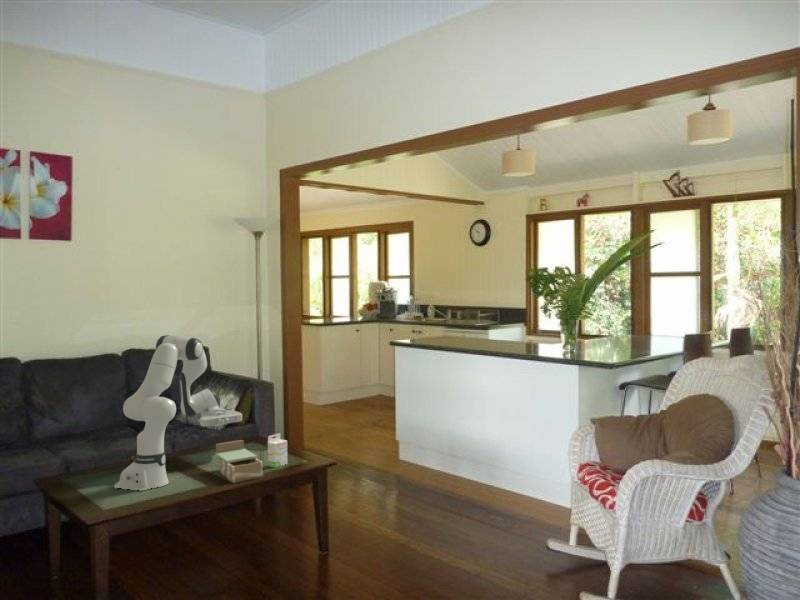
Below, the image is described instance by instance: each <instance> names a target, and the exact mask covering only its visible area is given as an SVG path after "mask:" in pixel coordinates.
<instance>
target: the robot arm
mask: <svg viewBox="0 0 800 600" xmlns="http://www.w3.org/2000/svg"><path fill="white" fill-rule="evenodd" d="M178 360H180V361H182V365H183V367H182V370H181V372H180V373H179V377H178V383H179V394H180V405H179V407H180V411H181V413H182V415H184V417H187V418H194V417H196V416H197V415H198V414H200V415H201V416H200V418H199V419H197V422H198V423H200V427H203V428H204V427H211V426H213V427H216V428H217V427H221V426H224V425H226V424H227V425H228V424H233V423H238V422H242V421H243V414H242V412H239V411H236V410H235V409H234V408H221V407H220V406H221V400H220V397H219V395H218V393H216V391H215V390H214V389H211V388H208V387H207V388H205V389H203V390H201V391H199V392H197V393H195V394H192V395H191V385H192V384H193V383H194V382H195V381H196V380H197V379H198V378H199V377H200V376H202V374H204V373H205V371H206V369H207V367H208V361H207V360H208V359H207V355H206V353H205V349H204V346H203V342H201V340H200V339H199V338H195V337H189V336H183V335H169V334H166V335H162V336H160V337H159V338H158V339H157V340H156V343H155V351H154V353H153V356H152V357H151V361H150V364H149V365H148V366H149V367H148V370H147V372H146V374H145V375H146V376H145V378H144V380H143V382H142V383H141V385H140V386H139V388H138V389H137V391H135V392H134V393H133V395H131V396H129V397H128V398H127V399H126V400H125V401H124V402H123V406H122V410H123V411H122V412H123V414H124V416H125V417H126V418H128V419H131V420H134V421H137V422H139V421H141V422H145V425H144V428H143V430H142V431H140V432H139V433H138V434H137V436H136V453H135V454H134V455H132V456H131V459H132V460H133V462H132V463H130V464H129V466H126V468H124V469H123V470H122V471H121V473H120V475H119V481H118V482H116V483H115V484H114V487H113V488H114V489H117V488H122V489H121V490H127V489H130V491H137V490H139V491H142V492H143V491H146V490H151V488H152V489H157V487H158V488H161V487H164V486H166V485H168V484H169V483H170V481H169V478H168V475H167V474H168V473H167V470H166V451H165V432H166V428H167V426H168V424H169V422H170V421H172V420H173V419H174V417H175V415H176V412H177V405H176V403H175V401H174V400H172V399H170V398H168V397H165V396H160V395H161V394H162V393H164V391H166V390H167V389H168V388H170V386H171V385H172V381H173V378H174V374H175V371H176V369H177V363H178Z"/></svg>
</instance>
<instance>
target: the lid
mask: <svg viewBox="0 0 800 600" xmlns="http://www.w3.org/2000/svg"><path fill="white" fill-rule="evenodd" d="M214 455H215V456H217V458H219V459H220V458H221V459H222V460H224V461H225V462H227V463H230V462H236V461H242V460H248V459H254V458H257V459H258V455H257V454H255V453H253V452H251V451H250V450H248V449H246V448H245V440H243V439H240V440H238V439H237V440H232V441H227V442H220V443H219V442H218V443H215V453H214Z"/></svg>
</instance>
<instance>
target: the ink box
mask: <svg viewBox="0 0 800 600" xmlns="http://www.w3.org/2000/svg"><path fill="white" fill-rule="evenodd" d="M285 464H286V465H288V440H286V439H281V433H280V432H279V433H274V434H272V435H268V437H267V466H270V468H273V467H274V468H273V469H276V468H278V467H279V466H280V467H282V465H283V466H286V465H285ZM275 467H276V468H275Z"/></svg>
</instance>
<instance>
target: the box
mask: <svg viewBox="0 0 800 600" xmlns="http://www.w3.org/2000/svg"><path fill="white" fill-rule="evenodd" d="M263 465H264V464H263V461H262V460H261V459H258V457H257V458H254V459H248V460H242V461H236V462H230V463H227V462H225V461H224V460H222V459H221V458H219V474H220V473H221V474H220V475H222V476H223V477H224V478H226V479H227V480H228V481H229V482H231V483H232V484H234V483H238V482H239V483H240V482H245V481H250V480H255V479H261V478H264V469H263V468H264V466H263Z"/></svg>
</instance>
